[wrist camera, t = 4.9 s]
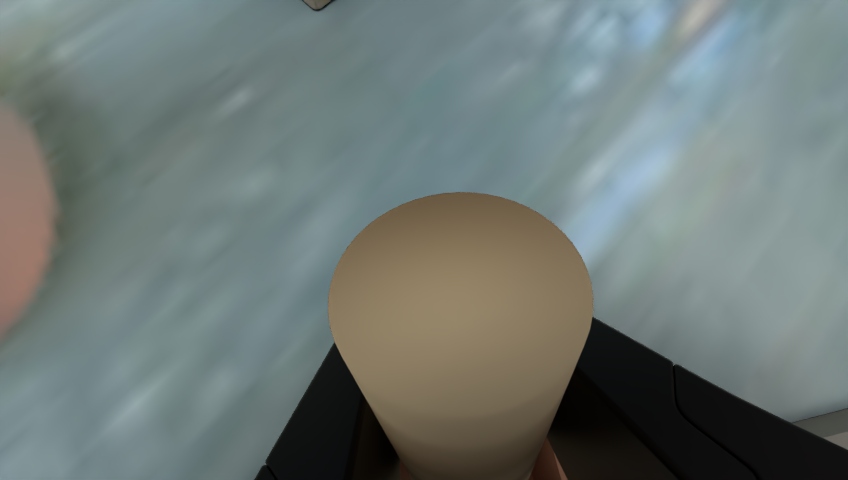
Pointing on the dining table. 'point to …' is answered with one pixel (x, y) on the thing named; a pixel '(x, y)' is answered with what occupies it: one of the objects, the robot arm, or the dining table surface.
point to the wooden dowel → (462, 331)
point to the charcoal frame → (829, 427)
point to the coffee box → (317, 3)
